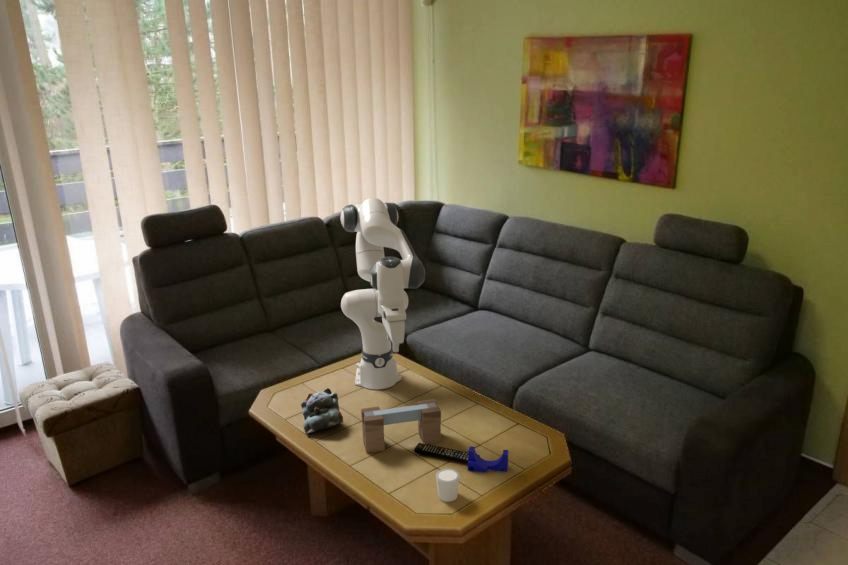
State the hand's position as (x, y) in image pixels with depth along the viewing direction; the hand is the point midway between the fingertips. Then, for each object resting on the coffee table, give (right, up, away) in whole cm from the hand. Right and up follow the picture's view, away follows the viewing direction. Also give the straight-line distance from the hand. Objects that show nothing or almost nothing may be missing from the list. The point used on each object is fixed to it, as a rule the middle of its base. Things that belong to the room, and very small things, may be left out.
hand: (392, 345), depth 217 cm
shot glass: (+17, -41, -28) cm, 53 cm away
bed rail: (+3, -24, -2) cm, 25 cm away
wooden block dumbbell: (+3, -32, 0) cm, 32 cm away
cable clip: (+30, -37, -15) cm, 50 cm away
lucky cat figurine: (-26, -30, +11) cm, 40 cm away
